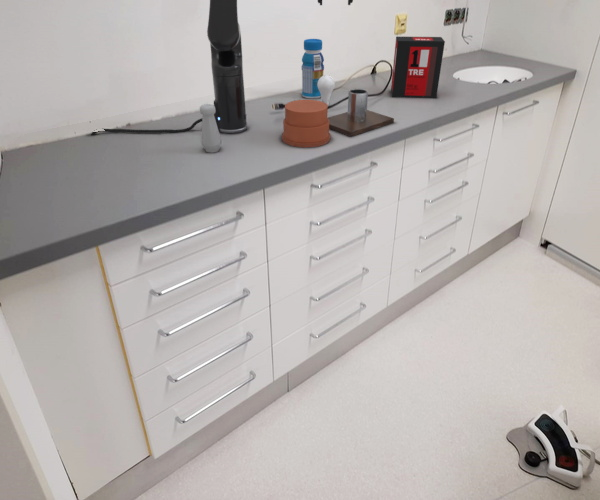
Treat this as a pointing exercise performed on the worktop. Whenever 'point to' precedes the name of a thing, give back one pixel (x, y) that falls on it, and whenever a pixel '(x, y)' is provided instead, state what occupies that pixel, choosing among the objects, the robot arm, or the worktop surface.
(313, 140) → the terracotta flower pot
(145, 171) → the worktop surface
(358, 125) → the board
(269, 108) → the worktop surface
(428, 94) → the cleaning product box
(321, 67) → the beverage bottle
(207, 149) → the salt shaker
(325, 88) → the lightbulb
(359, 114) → the steel cup
